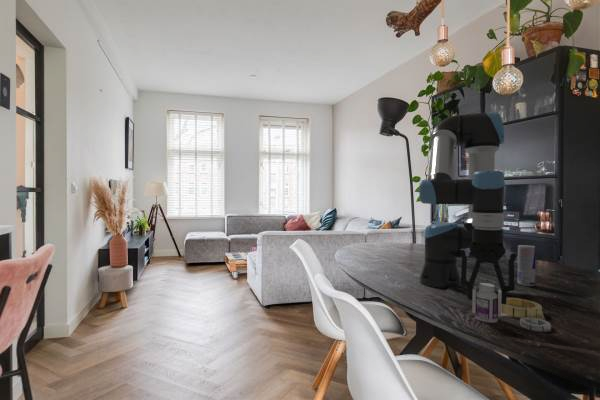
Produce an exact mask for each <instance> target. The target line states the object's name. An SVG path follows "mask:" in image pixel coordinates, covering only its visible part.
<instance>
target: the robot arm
mask: <svg viewBox="0 0 600 400" xmlns="http://www.w3.org/2000/svg"><path fill="white" fill-rule="evenodd" d="M504 142H505V130H504V121H503V118H502V116H501V114H500V113H498V112H487V111H485V112H477V113H469V114H454V115H451V116H448V117H446V118H445V119H443V120H441V121H440V122H438V124H436V126H435V127H434V128H433V129H432V130H431V133H430V136H429V142H428V143H429V146H430V148H431V150H430V158H429V165H428V175H427V179H423V180H421V181H420V183H419V192H418V193H419V201H420V203H422V204H424V205H425V204H428V205H468V209H467V210H468V213H467V215H468V217H467V219H465V220H464V221H463V226H459V224H458V223H457V222H444V223H443V222H442V223H434V224H429V225H427V226H426V227H425V230H424V231H425V232H424V263H423V266H422V269H421V272H420V275H419V282H420V283H421V284H422V285H424V286H427V287H433V288H437V289H438V288H439V289H449V287H451V288H460V287H462V286H464V287H466V288H467V299H468V300H469V301H472V303H471V304H472V308H471V309H472V310H471V311H472V312H471V313H472V314H476V292H477V287H476V286H474V284H475V283H476V279H477V276H478V274H479V270H480V268H481V264H485V263H488V264H491V265H493V268H494V271H495V274H496V277H497V281H498V284H499V287H500V289H497V295H498V318H502V315H501V304H506V298H507V293H508V292H514V291H515V290H516V289H515V287H516V286H515V283H516V282H515V261H516V259H517V253H516V252H515V251H509V250H506V247H505V246H504V233H505V231H504V226H505V225H504V223H505V221H504V219H505V218H504V217H505V213H504V202H505V200H504V199H505V185H506V184H505V183H506V182H505V173H504V172H503V171H502V170H495V166H496V165H495V164H496V162H495V161H496V160H495V156H496V155H495V154H496V153H497V152H498V151H499V150H500V145H503V144H504ZM456 147H464V152H465V153H467V155H468V178H467V179H454V160H455V159H454V154H455V152H454V151H455V148H456ZM504 255H505V259H507V261H508V263H507V266H508V267H507V269H508V270H507V271H508V272H507V273H508V285H506V283H505V280H504V277H503V272H502V270H501V267H500V263H499V260H500V259H501V258H503V256H504ZM459 258H461V271H460V269H459V267H458V259H459ZM468 259H473V260H474V259H475V264H474V266H473V268H472V272H471V275H470V277H469V281H468V280H467V271H468V270H467V268H468V267H467V266H468Z"/></svg>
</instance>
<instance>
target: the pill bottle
mask: <svg viewBox="0 0 600 400" xmlns="http://www.w3.org/2000/svg"><path fill="white" fill-rule="evenodd" d="M477 288H478V290H476V313H475V318H476V320H478V321H481V322H483V323H491V324H493V323H498V321H499V317H498V293H496V286H495V284H492V283H489V282H486V283H485V282H481V283H478V285H477Z"/></svg>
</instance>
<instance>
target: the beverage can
mask: <svg viewBox="0 0 600 400" xmlns="http://www.w3.org/2000/svg"><path fill="white" fill-rule="evenodd" d="M517 284H518V285H520V286H523V287H534V286H535V285H536V246H535V245H529V244H528V245H527V244H519V245H517Z"/></svg>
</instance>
